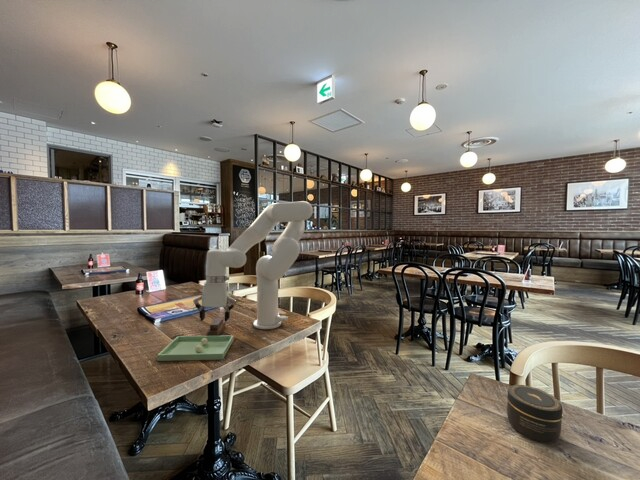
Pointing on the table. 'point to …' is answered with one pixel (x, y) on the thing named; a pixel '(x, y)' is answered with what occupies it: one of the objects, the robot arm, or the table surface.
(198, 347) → the crumb
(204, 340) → the crumb
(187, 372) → the table surface
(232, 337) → the tray
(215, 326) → the stepped brown post
